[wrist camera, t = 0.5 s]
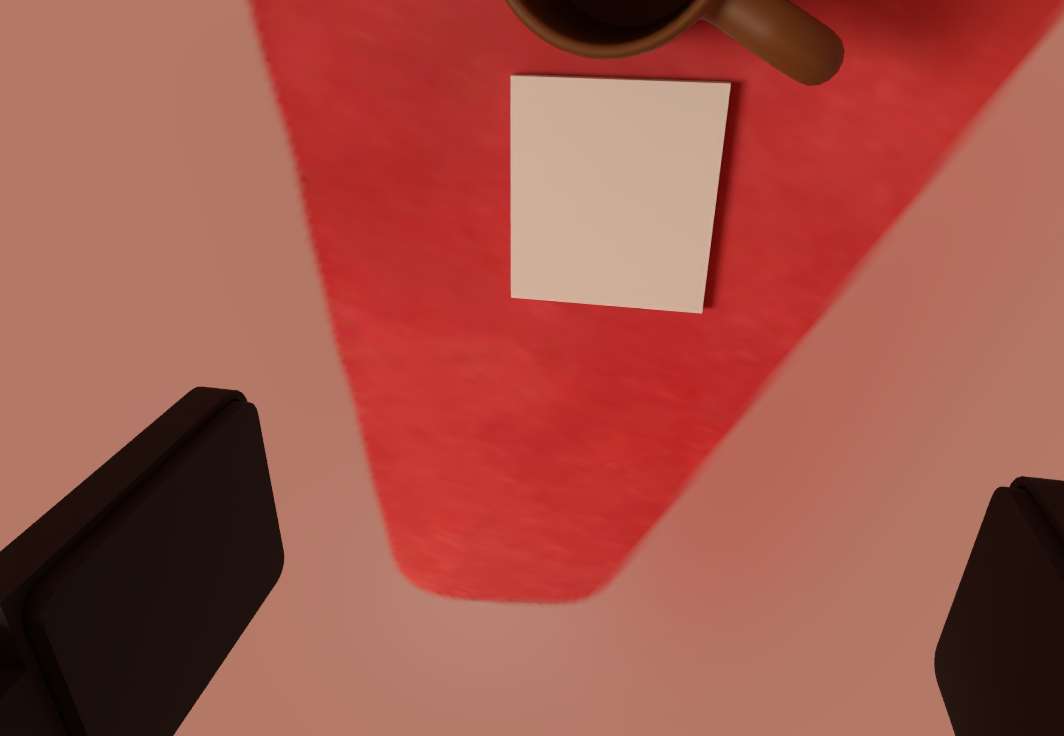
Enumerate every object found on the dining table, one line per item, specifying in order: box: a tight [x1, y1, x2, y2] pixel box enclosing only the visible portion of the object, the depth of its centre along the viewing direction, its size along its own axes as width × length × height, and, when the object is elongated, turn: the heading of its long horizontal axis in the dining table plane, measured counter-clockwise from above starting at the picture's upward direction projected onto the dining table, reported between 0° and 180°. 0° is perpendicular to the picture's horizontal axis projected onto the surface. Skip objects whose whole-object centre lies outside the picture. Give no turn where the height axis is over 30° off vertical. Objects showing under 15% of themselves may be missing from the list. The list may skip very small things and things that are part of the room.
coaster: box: [511, 74, 731, 313], centre depth 34 cm, size 10×9×1 cm
